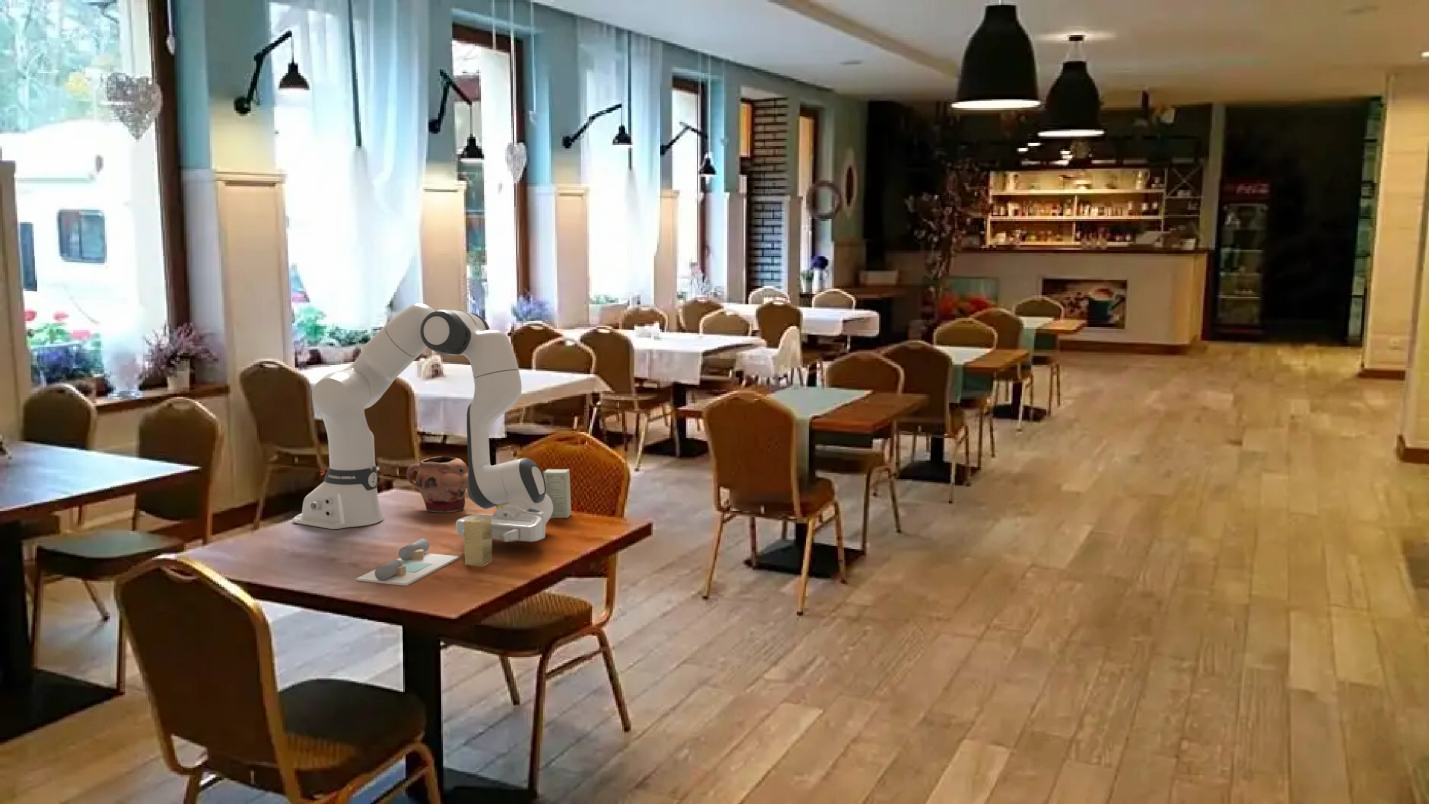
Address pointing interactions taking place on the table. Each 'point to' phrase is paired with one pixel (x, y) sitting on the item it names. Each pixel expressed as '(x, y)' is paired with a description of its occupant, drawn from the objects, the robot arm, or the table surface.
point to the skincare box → (559, 491)
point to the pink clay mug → (441, 483)
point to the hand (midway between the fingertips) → (483, 536)
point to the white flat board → (409, 565)
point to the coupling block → (478, 541)
